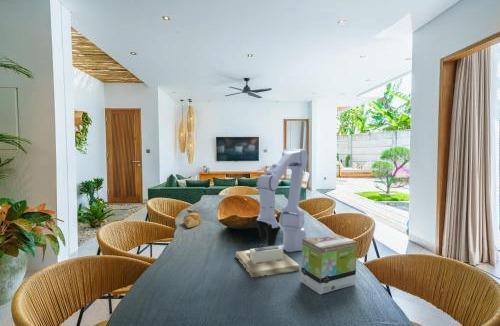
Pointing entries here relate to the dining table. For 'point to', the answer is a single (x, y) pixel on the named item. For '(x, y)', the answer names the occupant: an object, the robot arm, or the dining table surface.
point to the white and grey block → (266, 254)
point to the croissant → (192, 219)
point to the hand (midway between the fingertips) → (267, 241)
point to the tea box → (328, 262)
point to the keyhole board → (267, 265)
